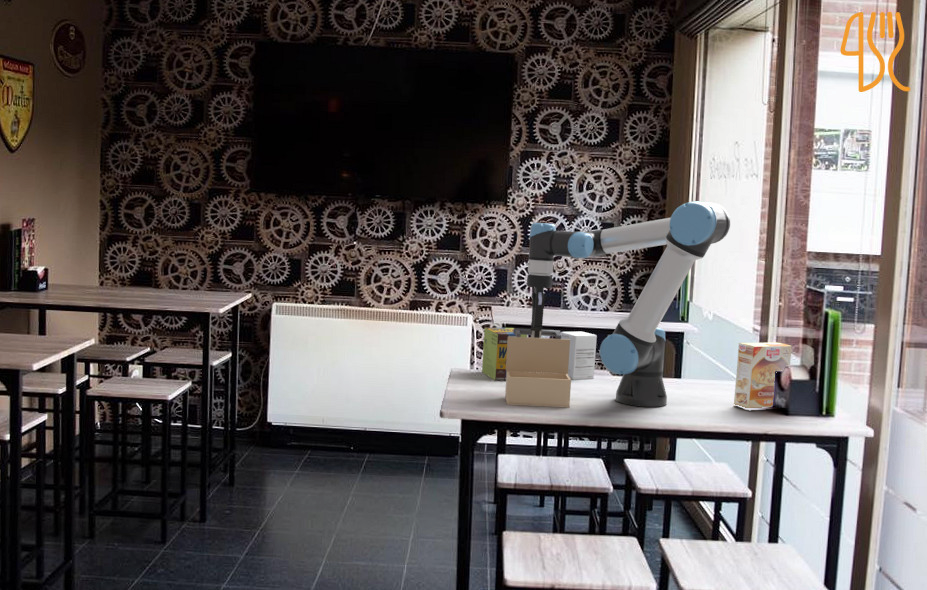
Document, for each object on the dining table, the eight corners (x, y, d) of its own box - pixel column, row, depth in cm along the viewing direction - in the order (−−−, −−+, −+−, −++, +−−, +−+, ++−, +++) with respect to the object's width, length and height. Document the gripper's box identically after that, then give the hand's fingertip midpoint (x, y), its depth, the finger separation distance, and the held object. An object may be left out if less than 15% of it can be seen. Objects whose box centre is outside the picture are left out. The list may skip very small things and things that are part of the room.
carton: (565, 400, 292) (567, 373, 291) (569, 407, 282) (571, 379, 281) (505, 397, 291) (506, 370, 291) (506, 404, 282) (508, 376, 281)
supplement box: (557, 375, 334) (560, 331, 333) (579, 373, 339) (581, 331, 337) (572, 379, 326) (575, 335, 325) (594, 378, 331) (597, 334, 329)
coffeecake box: (748, 411, 289) (754, 346, 287) (732, 406, 295) (737, 342, 293) (787, 409, 295) (792, 345, 293) (770, 404, 302) (775, 341, 300)
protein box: (494, 381, 318) (497, 333, 316) (481, 372, 332) (483, 326, 331) (525, 381, 320) (528, 333, 319) (510, 372, 335) (513, 327, 334)
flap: (567, 373, 291) (564, 367, 300) (570, 335, 290) (566, 330, 299) (505, 370, 291) (504, 364, 300) (508, 332, 289) (506, 327, 299)
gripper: (525, 271, 304) (521, 347, 306) (529, 275, 289) (524, 354, 291) (549, 273, 304) (545, 348, 306) (554, 276, 289) (549, 355, 291)
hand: (535, 351), depth 298 cm, fingers closed on flap, 2 cm apart
